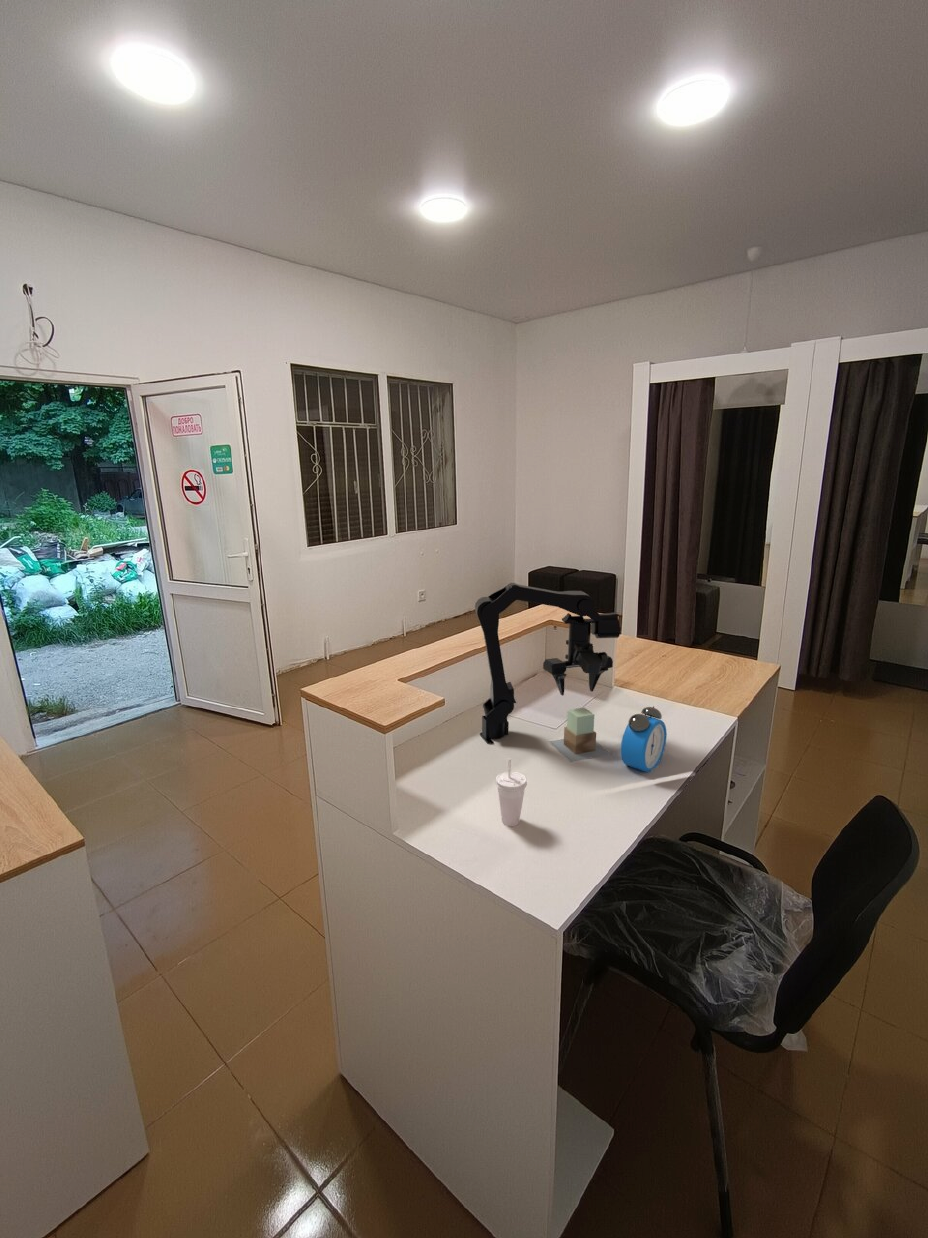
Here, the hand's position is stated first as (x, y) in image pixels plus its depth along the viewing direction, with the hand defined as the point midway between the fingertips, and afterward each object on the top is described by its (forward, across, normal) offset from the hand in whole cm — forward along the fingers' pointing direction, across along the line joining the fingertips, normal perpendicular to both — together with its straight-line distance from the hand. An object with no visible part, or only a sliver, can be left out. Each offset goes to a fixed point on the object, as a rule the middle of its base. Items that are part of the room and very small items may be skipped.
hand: (576, 693), depth 155 cm
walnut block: (+12, -4, -9) cm, 15 cm away
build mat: (+12, -4, -9) cm, 16 cm away
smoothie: (+13, -34, -32) cm, 48 cm away
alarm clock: (+13, +6, -22) cm, 26 cm away
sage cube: (+6, -4, -9) cm, 12 cm away
